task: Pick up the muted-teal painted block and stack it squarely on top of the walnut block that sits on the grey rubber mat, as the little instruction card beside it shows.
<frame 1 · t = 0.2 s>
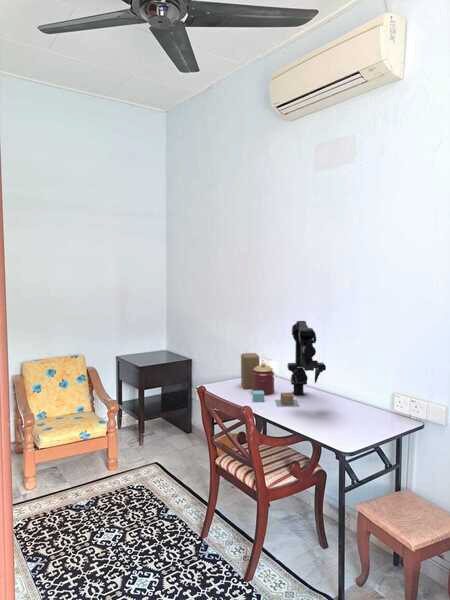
hand: (306, 383, 224), 14 cm above the table, fingers open, 9 cm apart
mat: (286, 403, 236), on the table
wooden block: (250, 386, 270), on the table
walnut block: (286, 398, 236), on the mat
instruction card: (265, 406, 233), on the table
canister: (263, 393, 257), on the table
teal block: (258, 401, 242), on the table
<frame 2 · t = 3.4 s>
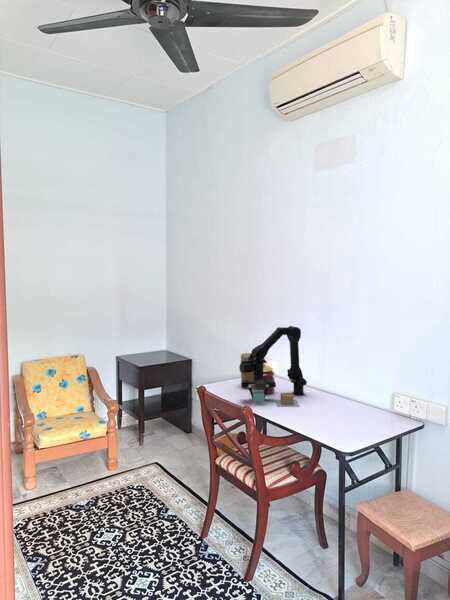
hand: (258, 398, 242), 1 cm above the table, fingers closed on teal block, 6 cm apart
teal block: (258, 400, 242), on the table, touching gripper
everything else where it was.
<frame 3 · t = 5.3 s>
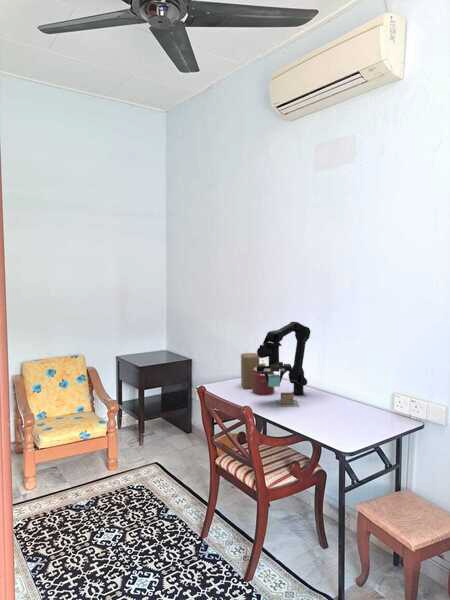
hand: (274, 383, 238), 11 cm above the table, fingers closed on teal block, 6 cm apart
teal block: (274, 385, 238), point 10 cm above the table, touching gripper
everything else where it was.
when the fingers open (7 cm above the table, at t = 7.3 s): teal block stays where it is, resting on walnut block.
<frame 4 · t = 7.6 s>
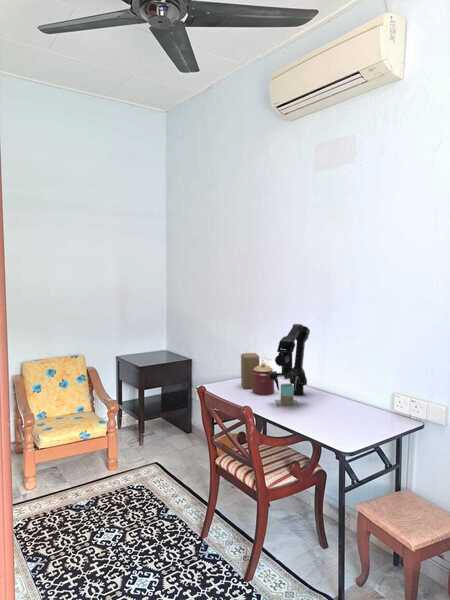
hand: (287, 390, 236), 7 cm above the table, fingers open, 9 cm apart
walnut block: (286, 398, 236), on the mat, touching teal block
teal block: (287, 394, 236), point 5 cm above the table, touching walnut block
everything else where it was.
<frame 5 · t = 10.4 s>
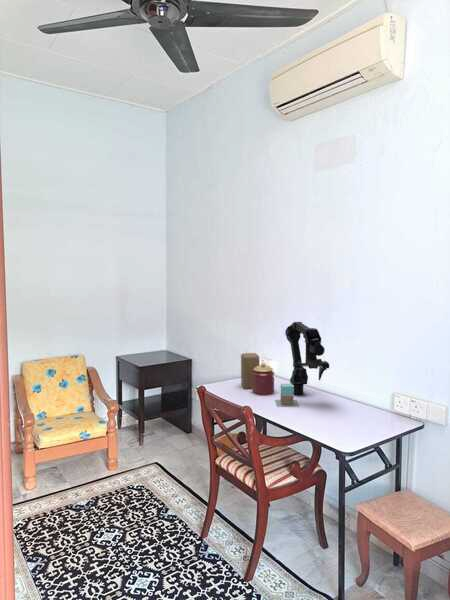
hand: (310, 380, 236), 12 cm above the table, fingers open, 9 cm apart
nothing on the table moved.
at the end: teal block 0.0 cm off-centre on the walnut block, point 5.0 cm above the walnut block's base; teal block tilted 0°; walnut block moved 0.0 cm from its start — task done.
